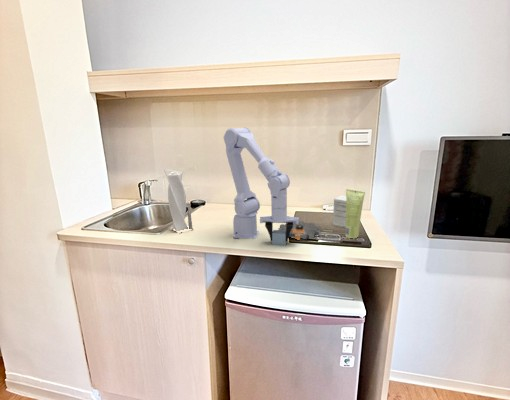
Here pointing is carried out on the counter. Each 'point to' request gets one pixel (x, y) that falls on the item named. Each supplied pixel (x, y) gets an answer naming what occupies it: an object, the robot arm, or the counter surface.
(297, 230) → the sprocket
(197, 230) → the counter surface
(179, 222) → the skyscraper
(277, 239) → the link block
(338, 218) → the supplement box
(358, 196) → the tube
